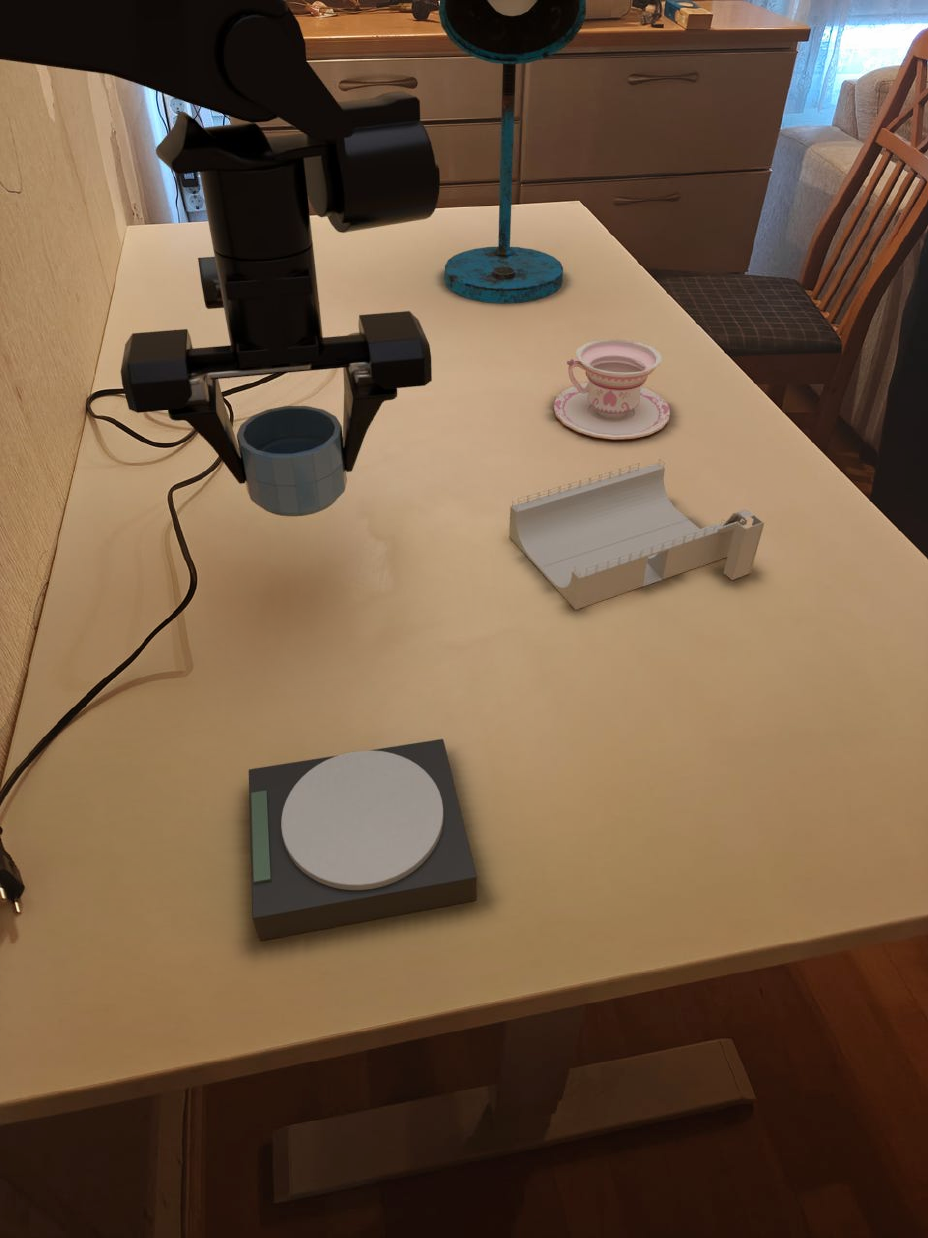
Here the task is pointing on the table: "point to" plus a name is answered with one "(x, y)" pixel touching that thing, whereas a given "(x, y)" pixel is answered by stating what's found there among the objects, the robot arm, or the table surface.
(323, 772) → the scale
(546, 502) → the skate ramp
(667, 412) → the teacup
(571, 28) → the desk lamp
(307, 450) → the bowl
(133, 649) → the table surface
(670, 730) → the table surface
